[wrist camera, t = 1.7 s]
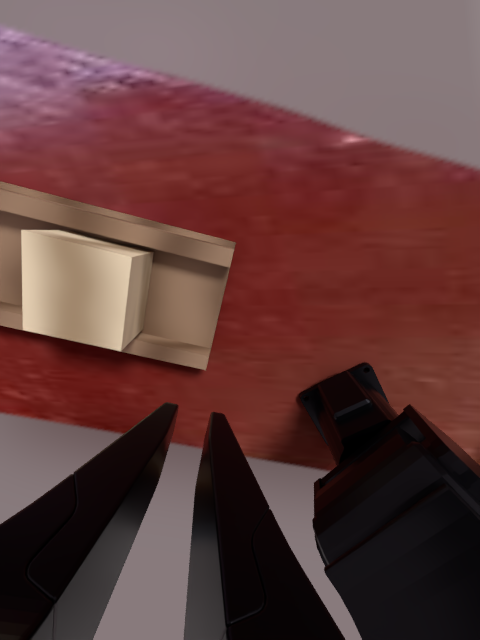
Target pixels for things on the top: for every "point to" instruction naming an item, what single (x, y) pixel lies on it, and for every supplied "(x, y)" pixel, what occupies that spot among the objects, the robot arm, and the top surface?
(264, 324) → the top surface
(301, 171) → the top surface
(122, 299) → the block
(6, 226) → the chute
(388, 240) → the top surface
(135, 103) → the top surface
